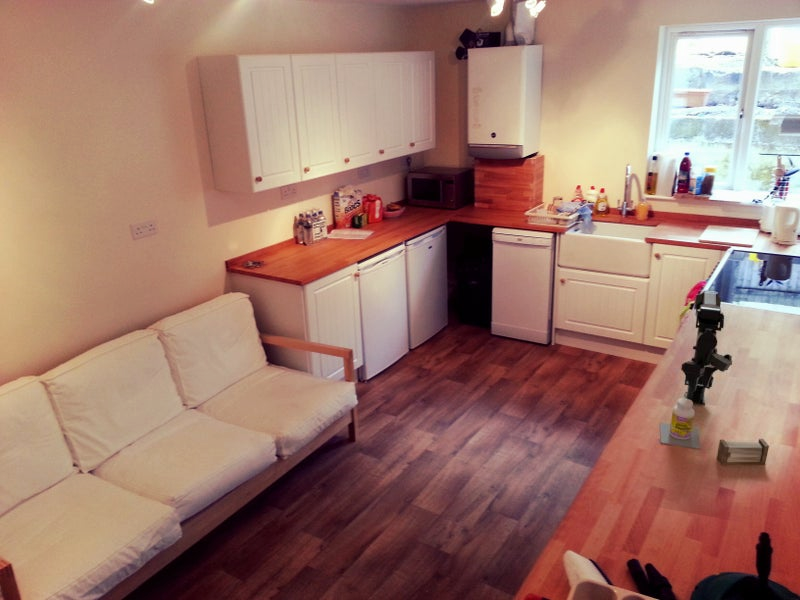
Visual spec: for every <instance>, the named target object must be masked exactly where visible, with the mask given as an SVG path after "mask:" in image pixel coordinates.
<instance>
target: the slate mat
mask: <svg viewBox="0 0 800 600" xmlns="http://www.w3.org/2000/svg"><path fill="white" fill-rule="evenodd" d="M659 425H660V427H659V428H660V429H659V431H660V434H659V435H660V438H659V439H660V444H662V445H663V444H664V445H668V446H677V447H682V448H688V449H696V450H701V440H700V433H699V428H698V427H692V433H691V437H690V438H689V439H686V440H681V439H677V438H674V437H673V436H672V435H671V434H670V426H671V423H666V422H659Z"/></svg>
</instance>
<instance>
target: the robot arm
mask: <svg viewBox="0 0 800 600" xmlns="http://www.w3.org/2000/svg"><path fill="white" fill-rule="evenodd" d="M718 293H719V292H717V291H715V290H708V289H706V290H705V289H704V290H702V291H701V293H699V294H697V295H696V296H695V300H694V306H693V307H694V308H693V310H695V314H694V315H695V317H696V318H695V320H696V321H695V329H697V335H696V342H695V345H694V346H692V349H693V350H694V356H693V357H691V359H690V360H688V361H685V362H684V363H682V364H681V367H680V369H681V371H682V373H684V386H687V390H686V391H685V392H684V398H686V399H689V400H691V401H692V402H693V404H699V405H706V399H705V391H706V389H708V390H710V389H711V388H712V387H713V383H714V376H713V375H714V373H716V371H719V372H725V371H728V370H729V368H730V366H732V365H733V359H732V357H733V356H732V355H730V354H729V353H727V354H724V355H722V354H719V353H718V349H717V346H718V338H717V333H718V332H717V331H719V332H722V329H724V326H725V325H724V324H725V315H724V312H723V311H722V309H721V305H722V304H721V302H722V299H721V297H720V296H719V294H718Z"/></svg>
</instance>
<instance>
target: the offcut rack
mask: <svg viewBox="0 0 800 600" xmlns="http://www.w3.org/2000/svg"><path fill="white" fill-rule="evenodd" d="M769 449H770V445H769V444H768V443H767V442H766V440H764V438H758V441H757V440H755V441H753V440H752V441H750V440H749V441H747V440H746V441H743V440H738V441H737V440H735V441H731V440H730V441H727V440H725V439H719V444H718V449H717V455H716V459H717V461H718V462H719V464H720V466H721V467H722V466H725V467H726V466H765V465H766V462H767V457H768V453H769Z"/></svg>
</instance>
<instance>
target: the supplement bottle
mask: <svg viewBox="0 0 800 600" xmlns="http://www.w3.org/2000/svg"><path fill="white" fill-rule="evenodd" d="M693 407H694V403H693V402H692V401H691V400H689V399H686V398H685V397H683V398H682V397H681V398H678V399H677V402H676V405H675V406H673V408H672V412H671V413H672V414H671V420H670V424H671V426H670V434H671V435H672V436H673V437H674V438H677V439H681V440H686V439H689V438H690V437H691V433H692V427H693V426H694V421H695V413H696V412H695V409H694V408H693Z"/></svg>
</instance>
